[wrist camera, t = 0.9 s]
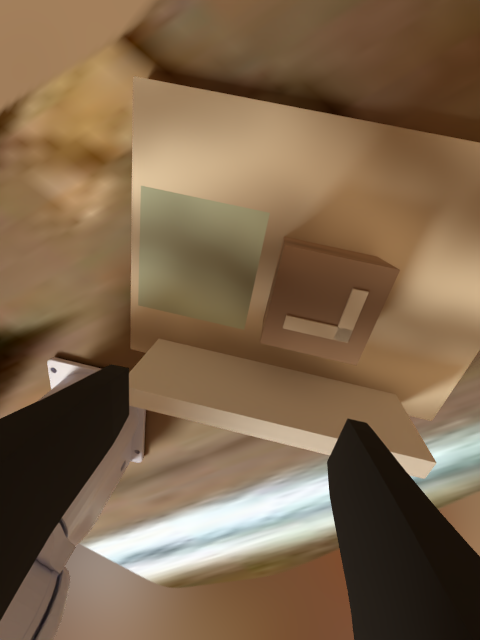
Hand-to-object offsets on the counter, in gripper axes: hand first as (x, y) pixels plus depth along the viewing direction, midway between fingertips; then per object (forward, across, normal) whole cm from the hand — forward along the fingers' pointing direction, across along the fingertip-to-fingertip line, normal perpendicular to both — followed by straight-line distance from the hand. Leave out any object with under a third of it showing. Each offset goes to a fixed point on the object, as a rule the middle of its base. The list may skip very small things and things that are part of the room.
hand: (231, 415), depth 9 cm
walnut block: (+8, -3, -2) cm, 9 cm away
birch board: (+9, -3, -3) cm, 10 cm away
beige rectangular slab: (+8, -2, +4) cm, 9 cm away
